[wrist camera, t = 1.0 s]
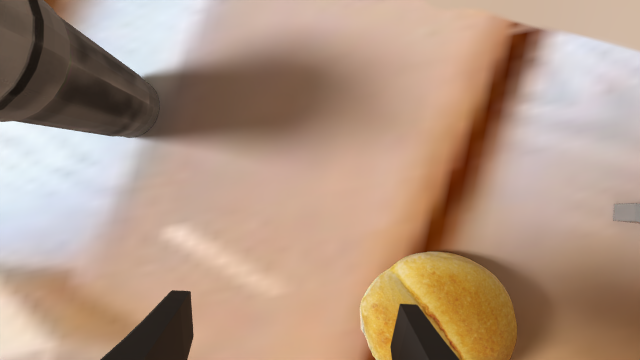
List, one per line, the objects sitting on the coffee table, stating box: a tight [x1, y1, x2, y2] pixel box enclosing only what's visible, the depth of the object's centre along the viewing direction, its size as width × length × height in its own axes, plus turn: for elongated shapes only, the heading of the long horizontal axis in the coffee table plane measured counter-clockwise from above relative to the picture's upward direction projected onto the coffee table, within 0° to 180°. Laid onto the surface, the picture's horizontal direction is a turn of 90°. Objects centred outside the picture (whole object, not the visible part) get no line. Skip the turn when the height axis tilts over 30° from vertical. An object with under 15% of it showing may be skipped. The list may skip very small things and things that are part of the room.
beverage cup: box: [0, 0, 159, 138], centre depth 19 cm, size 7×7×20 cm
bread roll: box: [360, 252, 517, 360], centre depth 23 cm, size 8×9×4 cm
